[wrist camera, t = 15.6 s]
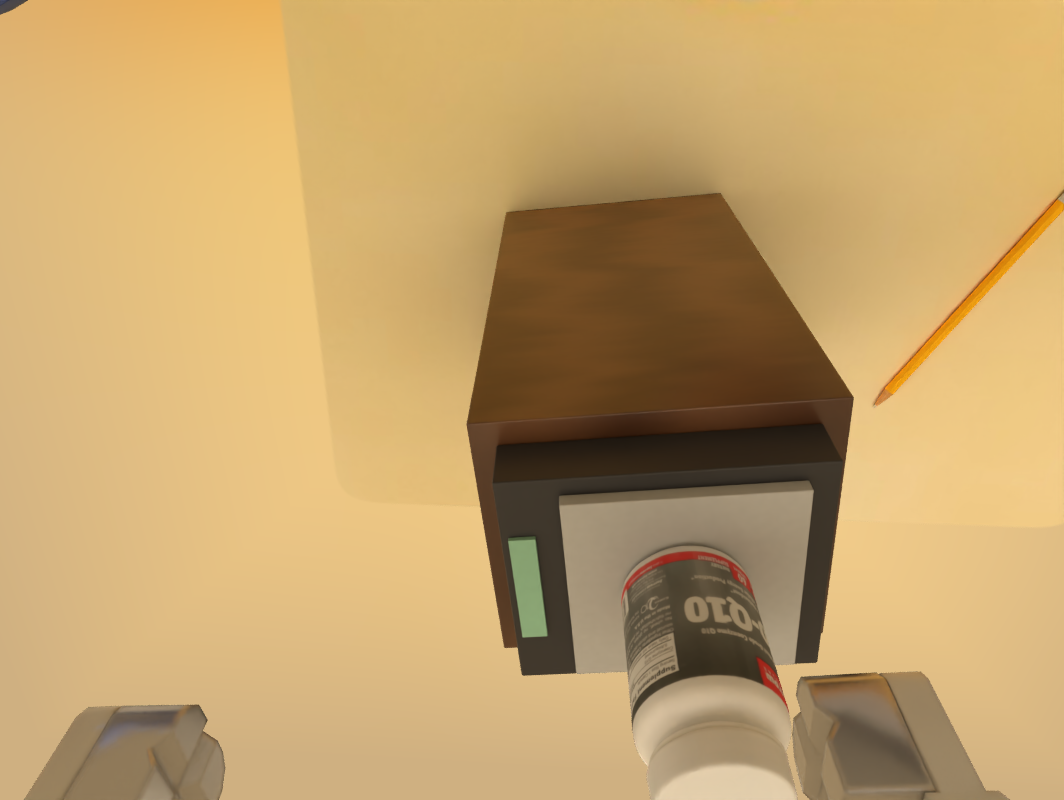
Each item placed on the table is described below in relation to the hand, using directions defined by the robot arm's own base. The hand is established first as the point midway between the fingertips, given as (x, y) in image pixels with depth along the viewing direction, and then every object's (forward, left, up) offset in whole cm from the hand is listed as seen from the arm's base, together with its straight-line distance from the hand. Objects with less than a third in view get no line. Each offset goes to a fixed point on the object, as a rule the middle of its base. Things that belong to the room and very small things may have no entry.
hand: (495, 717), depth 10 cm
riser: (+4, -12, -43) cm, 45 cm away
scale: (+4, -12, -17) cm, 21 cm away
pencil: (+28, -15, -43) cm, 54 cm away
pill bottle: (+5, -12, -14) cm, 19 cm away
